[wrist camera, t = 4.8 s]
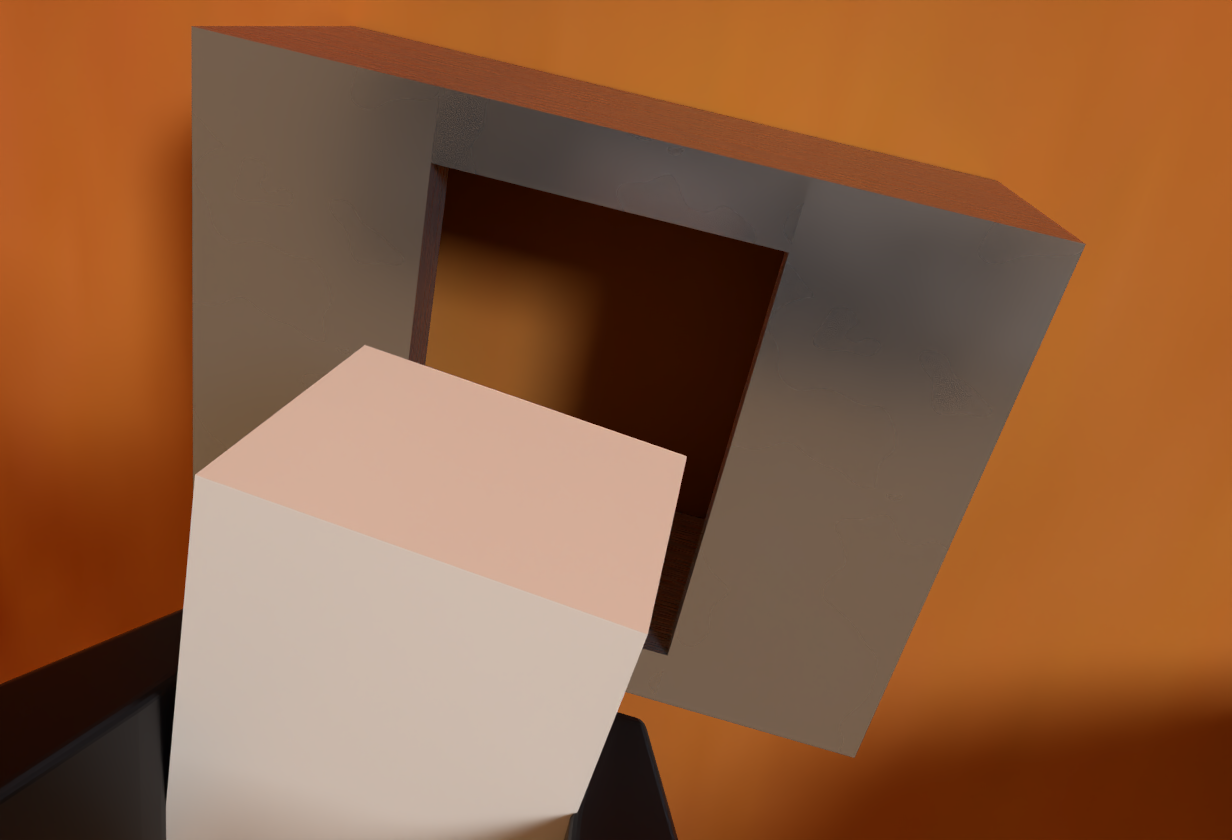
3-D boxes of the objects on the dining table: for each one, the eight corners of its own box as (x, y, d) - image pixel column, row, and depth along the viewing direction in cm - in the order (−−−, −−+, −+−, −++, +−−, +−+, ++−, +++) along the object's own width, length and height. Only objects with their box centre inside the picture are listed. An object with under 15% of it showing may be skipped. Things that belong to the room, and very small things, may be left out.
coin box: (998, 180, 16) (1085, 243, 11) (837, 588, 19) (854, 757, 15) (354, 26, 16) (191, 26, 12) (324, 446, 20) (193, 567, 16)
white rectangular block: (687, 455, 8) (648, 634, 5) (545, 830, 10) (475, 1068, 8) (364, 345, 8) (194, 474, 6) (295, 740, 10) (153, 948, 8)
